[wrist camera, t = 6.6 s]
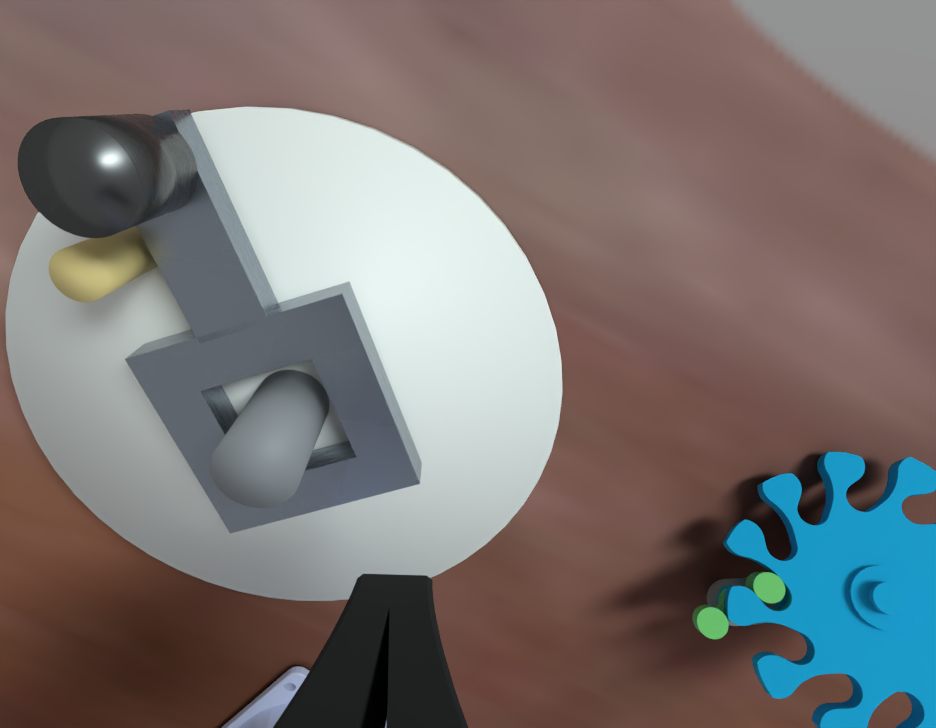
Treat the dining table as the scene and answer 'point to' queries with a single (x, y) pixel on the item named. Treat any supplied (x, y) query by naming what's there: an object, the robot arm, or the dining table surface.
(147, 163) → the crank handle
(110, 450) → the base plate
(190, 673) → the dining table surface
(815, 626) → the gear
